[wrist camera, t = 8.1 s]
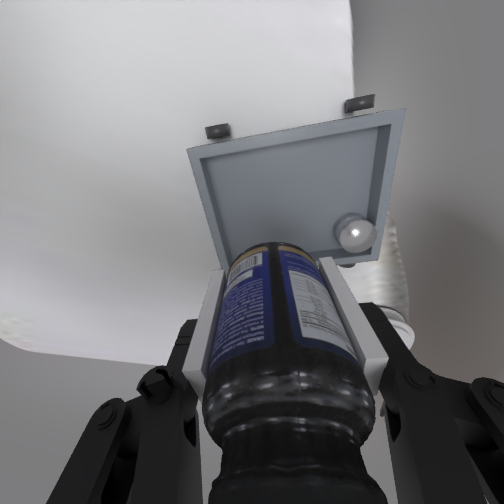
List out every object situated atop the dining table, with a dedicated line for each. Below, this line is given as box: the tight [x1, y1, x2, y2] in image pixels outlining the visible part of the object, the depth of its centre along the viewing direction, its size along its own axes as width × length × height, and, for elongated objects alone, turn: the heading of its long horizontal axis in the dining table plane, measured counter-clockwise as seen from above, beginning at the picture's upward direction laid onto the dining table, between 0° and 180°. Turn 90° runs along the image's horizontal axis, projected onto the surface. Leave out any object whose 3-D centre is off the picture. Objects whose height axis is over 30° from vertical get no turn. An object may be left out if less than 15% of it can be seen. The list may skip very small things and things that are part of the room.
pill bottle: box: [202, 242, 388, 504], centre depth 9 cm, size 6×6×11 cm
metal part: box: [333, 212, 377, 253], centre depth 25 cm, size 4×4×3 cm
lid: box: [379, 307, 414, 350], centre depth 36 cm, size 13×13×5 cm
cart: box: [186, 94, 406, 277], centre depth 24 cm, size 20×19×4 cm
